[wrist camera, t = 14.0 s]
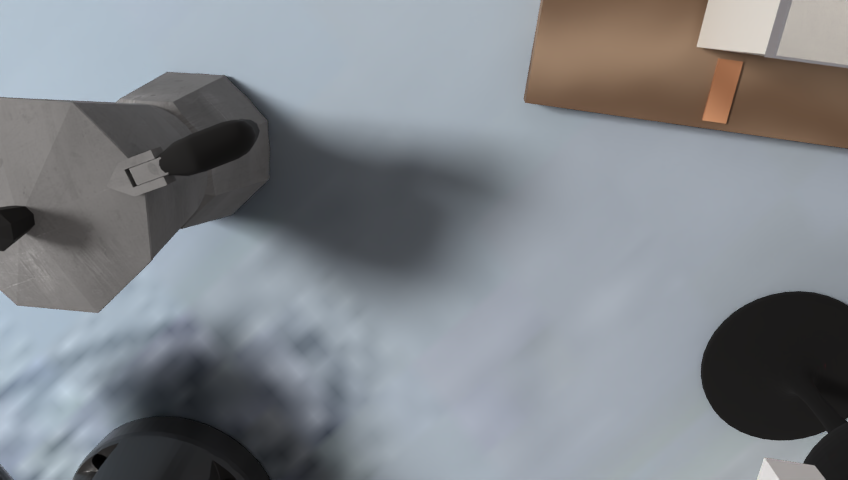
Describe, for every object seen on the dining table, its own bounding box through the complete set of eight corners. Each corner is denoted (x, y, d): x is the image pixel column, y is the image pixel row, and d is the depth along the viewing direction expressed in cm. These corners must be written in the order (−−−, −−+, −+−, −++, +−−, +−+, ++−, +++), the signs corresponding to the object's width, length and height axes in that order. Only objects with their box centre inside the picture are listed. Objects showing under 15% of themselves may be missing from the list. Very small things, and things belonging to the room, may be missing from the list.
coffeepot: (146, 244, 43) (-86, 389, 26) (77, 107, 40) (-228, 167, 23) (360, 171, 40) (259, 281, 23) (301, 17, 37) (136, 11, 20)
